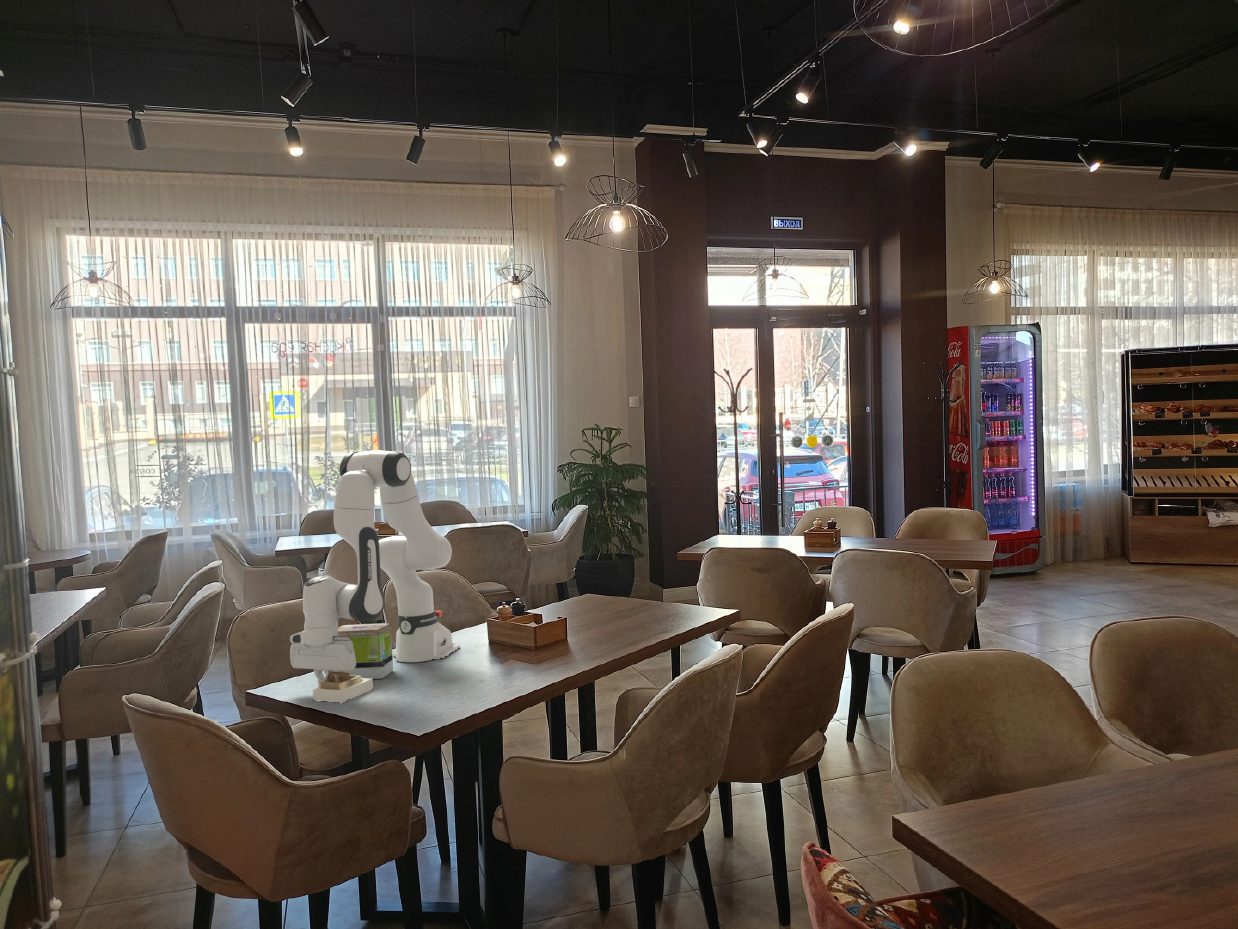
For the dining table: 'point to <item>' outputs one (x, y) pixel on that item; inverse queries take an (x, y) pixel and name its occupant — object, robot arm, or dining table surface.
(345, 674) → the caddy
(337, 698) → the bay
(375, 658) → the tea box
